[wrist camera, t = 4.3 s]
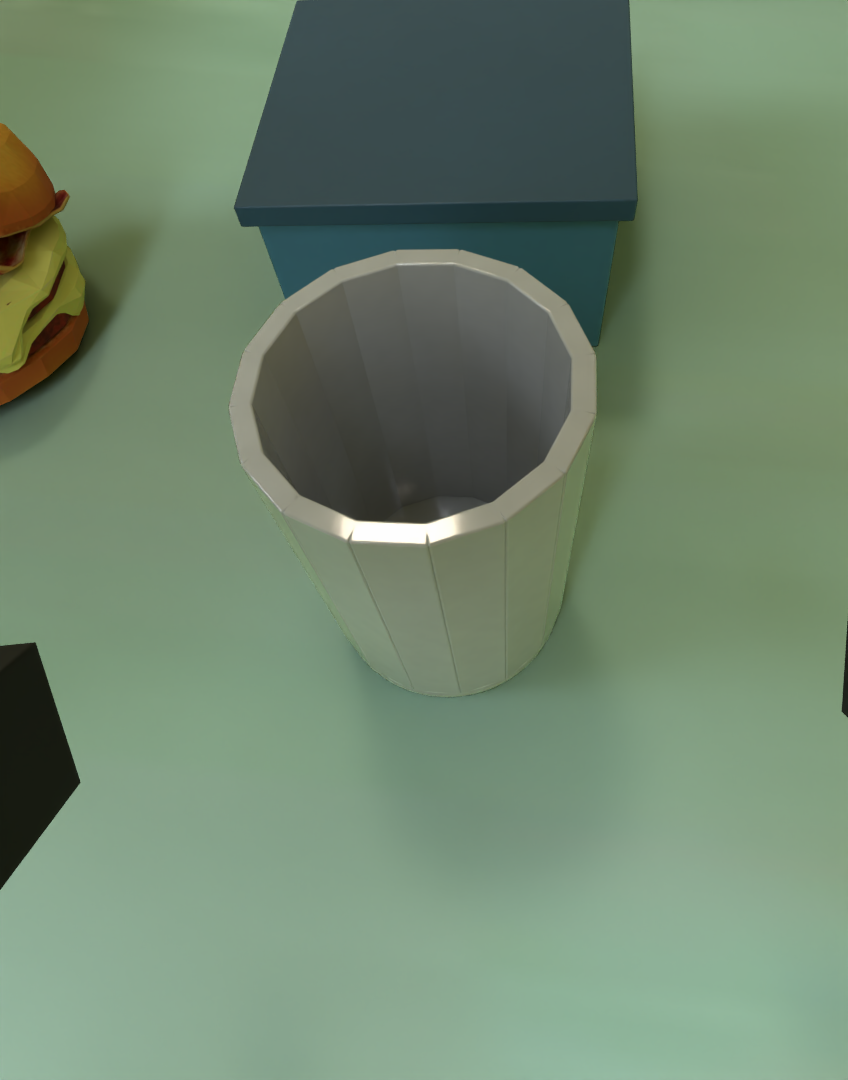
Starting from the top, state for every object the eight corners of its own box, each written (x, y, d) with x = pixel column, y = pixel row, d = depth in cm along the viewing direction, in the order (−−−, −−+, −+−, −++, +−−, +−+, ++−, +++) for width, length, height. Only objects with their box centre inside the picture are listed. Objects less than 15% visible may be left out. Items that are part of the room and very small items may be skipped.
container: (290, 352, 30) (233, 207, 24) (333, 160, 35) (296, 0, 29) (608, 355, 28) (638, 199, 22) (605, 153, 33) (628, -20, 27)
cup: (324, 689, 23) (192, 536, 14) (356, 490, 27) (268, 249, 17) (558, 706, 22) (598, 554, 13) (561, 497, 26) (596, 246, 16)
